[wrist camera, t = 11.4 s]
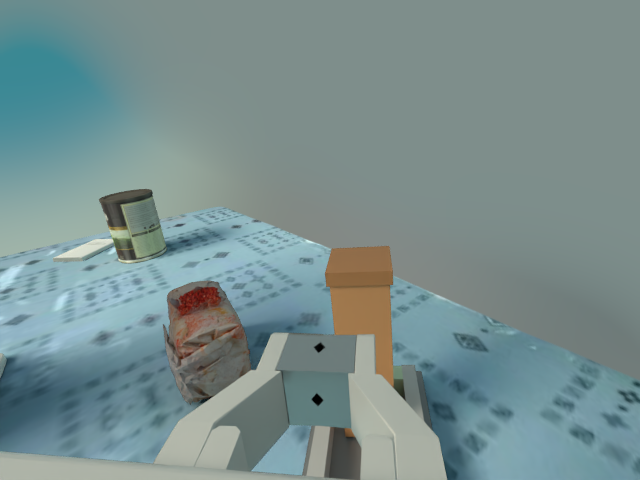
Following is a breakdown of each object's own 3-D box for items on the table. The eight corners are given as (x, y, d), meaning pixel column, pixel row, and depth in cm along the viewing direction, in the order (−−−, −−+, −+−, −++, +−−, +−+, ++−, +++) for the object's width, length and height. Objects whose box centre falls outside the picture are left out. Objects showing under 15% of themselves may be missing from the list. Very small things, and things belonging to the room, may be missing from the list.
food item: (265, 388, 36) (248, 305, 33) (185, 424, 33) (158, 336, 29) (231, 327, 48) (216, 261, 44) (169, 349, 44) (148, 279, 41)
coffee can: (112, 267, 74) (90, 202, 70) (126, 250, 84) (108, 193, 79) (162, 258, 76) (145, 195, 71) (171, 243, 86) (156, 186, 81)
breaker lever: (398, 441, 27) (392, 271, 22) (342, 438, 28) (325, 273, 23) (394, 398, 31) (389, 246, 27) (346, 397, 32) (332, 248, 27)
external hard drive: (54, 264, 82) (95, 244, 93) (83, 263, 80) (121, 243, 92) (52, 257, 81) (93, 239, 93) (81, 257, 80) (120, 238, 91)
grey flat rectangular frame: (467, 626, 18) (469, 592, 17) (282, 603, 20) (274, 570, 19) (421, 379, 35) (421, 354, 34) (323, 377, 37) (320, 354, 36)
